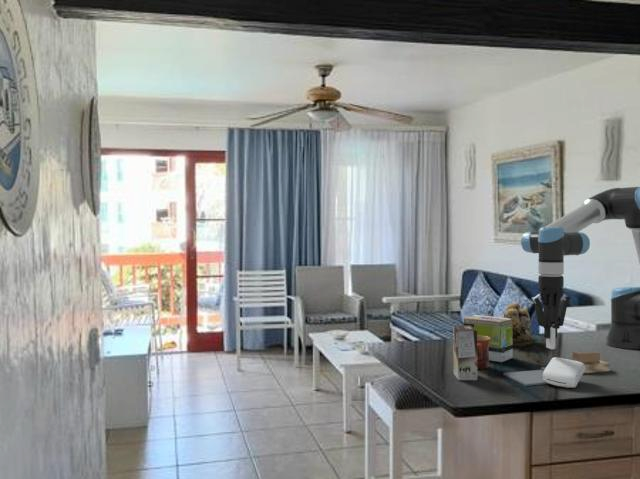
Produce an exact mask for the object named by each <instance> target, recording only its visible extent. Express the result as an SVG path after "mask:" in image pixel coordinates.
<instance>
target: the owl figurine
mask: <svg viewBox="0 0 640 479" xmlns="http://www.w3.org/2000/svg"><path fill="white" fill-rule="evenodd" d="M502 318H512V329H513V348H514V349H524V348H531V347H532V346H535V343H536V342H535V339H533V338H532V335H531V334H532V333H531V332H532V328H531V318H530V314H529V312H528V309H526V308H521V304H519V302H511V303H508V305H507V307H506V310H505V311H504V312H503V317H502Z"/></svg>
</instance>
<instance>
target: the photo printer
mask: <svg viewBox="0 0 640 479" xmlns="http://www.w3.org/2000/svg"><path fill="white" fill-rule="evenodd" d="M584 371H585V365H584V364H583V363H582V362H578V361H574V360H572V359H568V358H562V357H552V358H551V360H550V361H549V362H548V364H547V366H546V367H545V370H544V372H543V381H545V382H547V383H549V384H548V385H553V386H556V387H561V388H569V389H570V388H571V389H572V388H576V387H577V386H578V383H579V381H580V380H581V378H582V376H583V375H584V374H585V373H584Z"/></svg>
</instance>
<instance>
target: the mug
mask: <svg viewBox="0 0 640 479" xmlns="http://www.w3.org/2000/svg"><path fill="white" fill-rule="evenodd" d="M490 340H491V338H490V337H488V336H482V335H477V370H485V369H487V368H489V363H490V360H489V344H490Z"/></svg>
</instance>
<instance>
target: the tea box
mask: <svg viewBox="0 0 640 479" xmlns="http://www.w3.org/2000/svg"><path fill="white" fill-rule="evenodd" d="M463 325H469V326H472V327H473V328H475V329H476V330H477V335H482V336H488V337H490V338H491V340H490V344H489V361H492V362H496V363H497V362H498V363H503V362H506V361H508V360H510V359H513V356H514V354H513V350H514V349H513V329H512V318H503V317H500V316H491V315H481V314H474V315H471V316H467V317H463Z"/></svg>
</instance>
